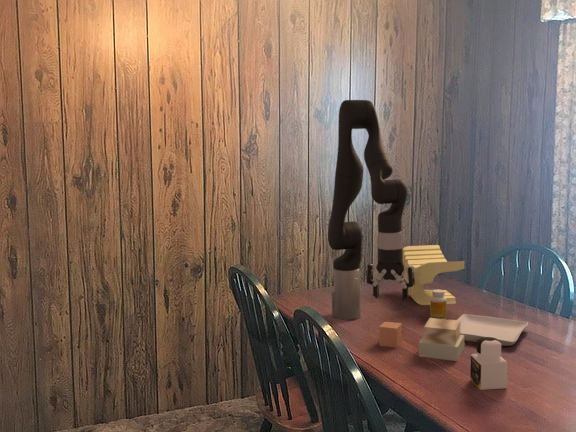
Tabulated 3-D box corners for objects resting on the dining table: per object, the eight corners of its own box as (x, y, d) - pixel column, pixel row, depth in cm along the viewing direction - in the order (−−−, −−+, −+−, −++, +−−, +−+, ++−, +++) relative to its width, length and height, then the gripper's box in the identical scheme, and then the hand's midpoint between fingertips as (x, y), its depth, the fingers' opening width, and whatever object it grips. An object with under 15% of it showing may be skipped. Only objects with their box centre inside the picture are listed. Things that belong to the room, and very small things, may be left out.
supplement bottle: (446, 321, 223) (446, 293, 222) (430, 320, 224) (430, 292, 223) (446, 316, 228) (446, 288, 227) (430, 315, 229) (430, 288, 228)
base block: (418, 357, 192) (418, 342, 191) (427, 345, 202) (427, 331, 201) (457, 362, 187) (457, 347, 186) (464, 349, 197) (464, 335, 196)
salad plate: (529, 331, 212) (529, 320, 211) (514, 352, 194) (515, 340, 193) (463, 322, 222) (463, 312, 222) (443, 341, 204) (443, 330, 204)
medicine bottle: (470, 379, 174) (470, 335, 172) (496, 377, 174) (497, 334, 173) (480, 390, 167) (480, 344, 165) (507, 388, 167) (508, 343, 166)
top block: (423, 341, 191) (424, 326, 191) (429, 332, 200) (429, 317, 199) (455, 345, 188) (455, 329, 187) (460, 335, 196) (460, 320, 196)
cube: (379, 345, 202) (379, 326, 201) (384, 340, 206) (384, 321, 206) (397, 347, 199) (396, 328, 198) (401, 342, 204) (401, 323, 203)
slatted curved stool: (399, 290, 264) (399, 246, 261) (438, 288, 265) (438, 244, 262) (419, 312, 234) (419, 262, 231) (464, 309, 235) (464, 260, 233)
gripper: (363, 247, 198) (364, 300, 200) (410, 249, 192) (410, 304, 194) (371, 243, 205) (372, 294, 207) (416, 245, 199) (417, 297, 201)
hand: (390, 298), depth 201 cm, fingers open, 8 cm apart
